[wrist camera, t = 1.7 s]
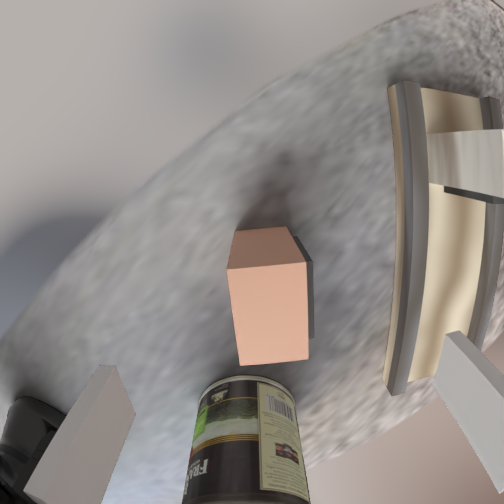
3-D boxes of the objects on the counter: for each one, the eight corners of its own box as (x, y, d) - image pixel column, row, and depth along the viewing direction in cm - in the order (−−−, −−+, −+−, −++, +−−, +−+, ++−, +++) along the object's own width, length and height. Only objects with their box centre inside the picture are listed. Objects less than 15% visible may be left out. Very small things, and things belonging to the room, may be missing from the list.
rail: (382, 378, 28) (419, 449, 18) (387, 88, 21) (461, 54, 11) (461, 356, 28) (508, 410, 18) (480, 102, 21) (557, 92, 10)
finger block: (234, 231, 24) (226, 269, 15) (293, 225, 24) (317, 260, 15) (243, 300, 26) (239, 365, 17) (297, 295, 26) (318, 357, 17)
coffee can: (191, 428, 30) (172, 533, 17) (208, 364, 28) (186, 490, 14) (277, 444, 31) (286, 545, 18) (310, 384, 28) (338, 503, 15)
